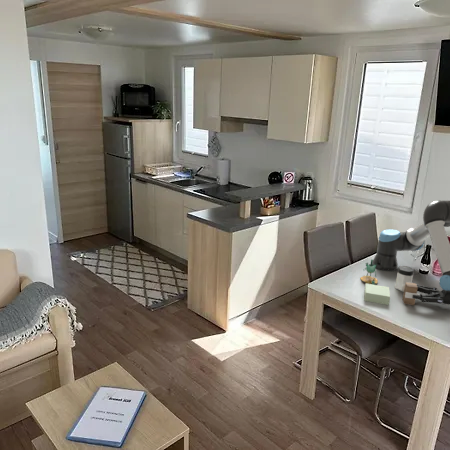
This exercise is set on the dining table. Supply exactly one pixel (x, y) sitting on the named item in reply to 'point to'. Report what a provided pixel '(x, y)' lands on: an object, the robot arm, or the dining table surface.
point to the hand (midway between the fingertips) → (403, 290)
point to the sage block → (377, 294)
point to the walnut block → (410, 289)
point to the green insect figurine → (370, 270)
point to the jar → (404, 276)
